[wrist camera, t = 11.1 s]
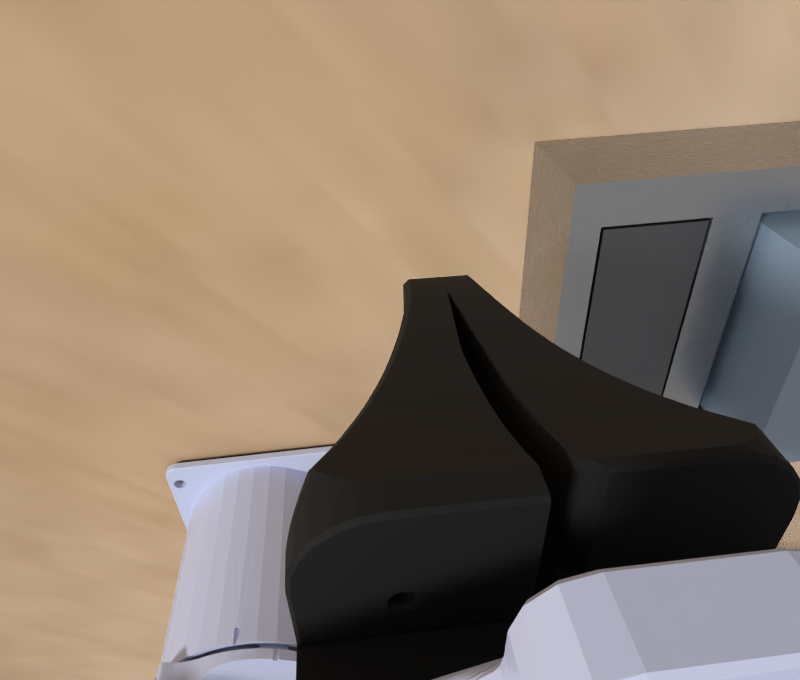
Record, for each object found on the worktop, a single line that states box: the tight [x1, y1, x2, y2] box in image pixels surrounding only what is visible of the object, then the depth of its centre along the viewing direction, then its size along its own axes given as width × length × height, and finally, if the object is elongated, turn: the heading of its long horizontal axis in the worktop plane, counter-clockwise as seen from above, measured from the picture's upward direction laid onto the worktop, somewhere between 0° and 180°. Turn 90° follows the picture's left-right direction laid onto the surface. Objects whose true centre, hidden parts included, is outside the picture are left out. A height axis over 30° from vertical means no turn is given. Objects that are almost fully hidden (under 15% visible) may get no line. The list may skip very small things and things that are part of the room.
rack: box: [520, 121, 800, 410], centre depth 24 cm, size 13×16×4 cm
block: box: [699, 210, 800, 462], centre depth 22 cm, size 8×3×6 cm, turn 3°
